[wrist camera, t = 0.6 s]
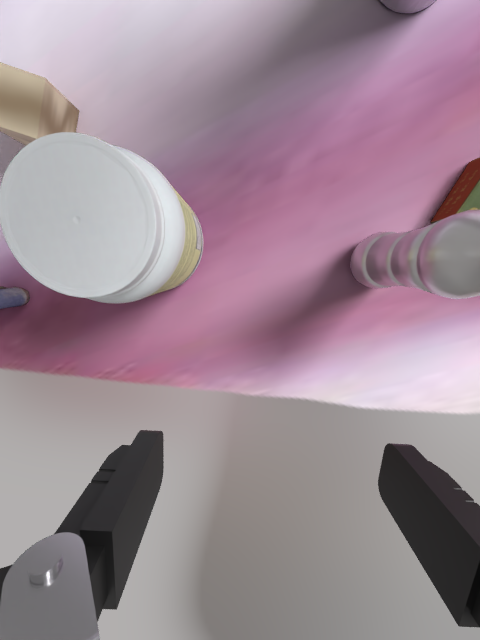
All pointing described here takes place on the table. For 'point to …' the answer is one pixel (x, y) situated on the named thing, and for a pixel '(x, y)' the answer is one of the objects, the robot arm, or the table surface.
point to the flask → (13, 297)
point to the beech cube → (32, 106)
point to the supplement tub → (96, 220)
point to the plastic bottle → (424, 258)
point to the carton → (462, 193)
